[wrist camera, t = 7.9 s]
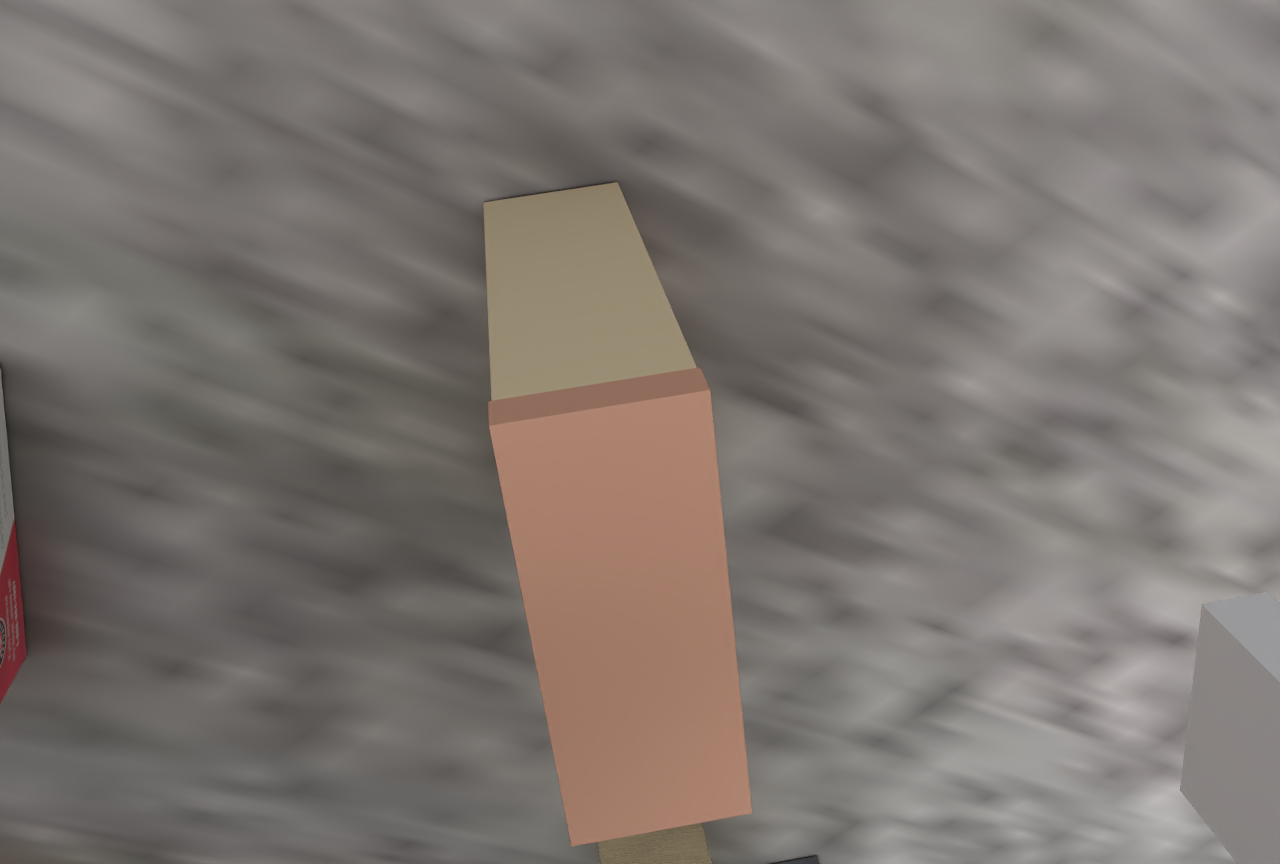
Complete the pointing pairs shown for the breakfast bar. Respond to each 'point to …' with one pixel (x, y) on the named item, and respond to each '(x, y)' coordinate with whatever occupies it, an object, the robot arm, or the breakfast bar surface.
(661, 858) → the ticket holder
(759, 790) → the breakfast bar surface
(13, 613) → the ink box
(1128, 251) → the breakfast bar surface
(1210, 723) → the robot arm
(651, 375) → the stub
